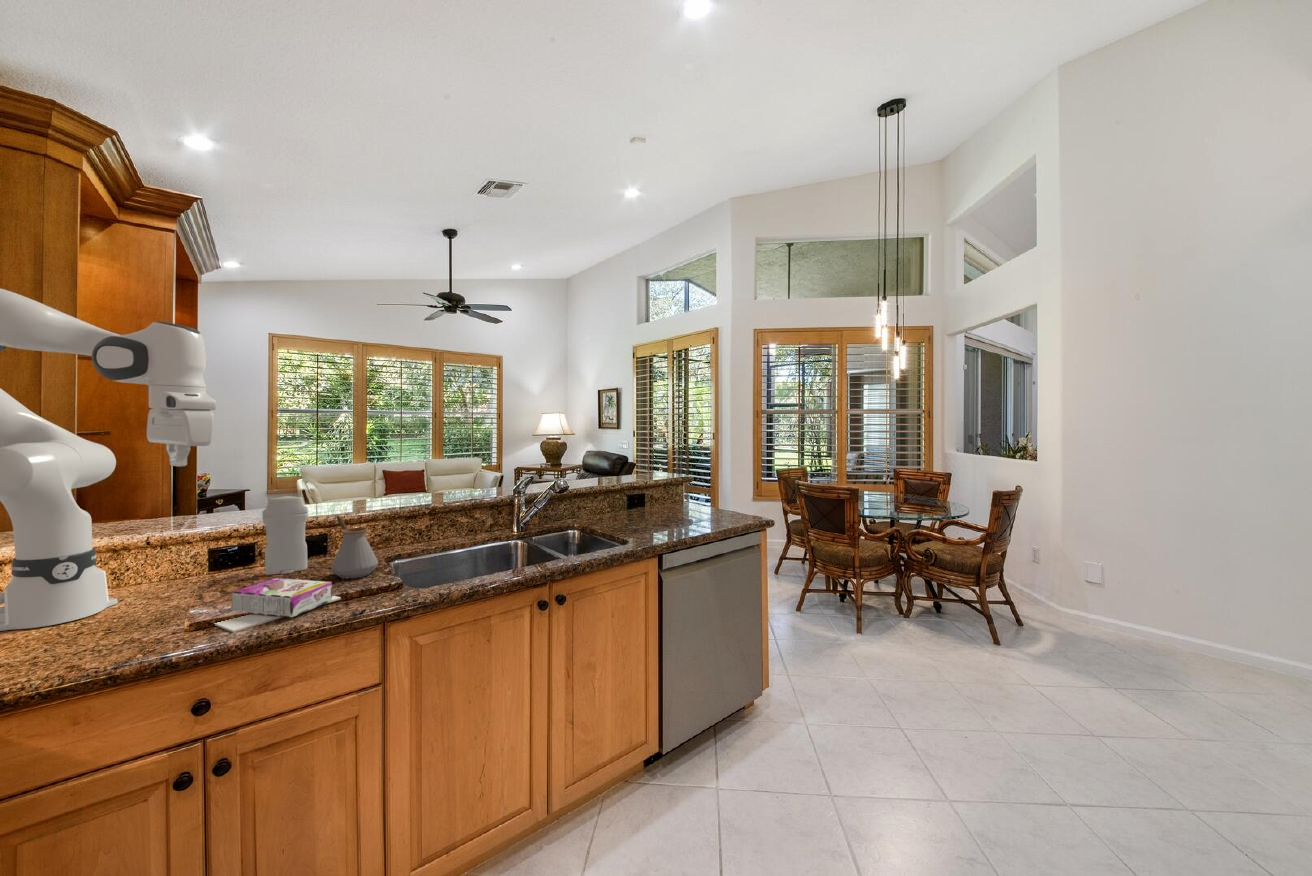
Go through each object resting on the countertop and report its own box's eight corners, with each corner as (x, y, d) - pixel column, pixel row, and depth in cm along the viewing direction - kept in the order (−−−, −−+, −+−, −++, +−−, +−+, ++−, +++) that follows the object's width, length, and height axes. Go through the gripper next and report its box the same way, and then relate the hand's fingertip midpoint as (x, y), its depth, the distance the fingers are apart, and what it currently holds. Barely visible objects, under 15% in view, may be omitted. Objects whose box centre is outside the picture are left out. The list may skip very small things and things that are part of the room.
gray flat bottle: (308, 566, 151) (306, 493, 150) (309, 569, 148) (308, 495, 147) (263, 573, 144) (261, 497, 143) (264, 577, 141) (262, 498, 140)
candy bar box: (275, 576, 124) (333, 580, 121) (275, 596, 125) (333, 601, 122) (229, 590, 114) (291, 596, 110) (230, 612, 114) (291, 619, 111)
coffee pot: (384, 574, 144) (383, 522, 143) (338, 583, 135) (337, 528, 135) (358, 560, 158) (358, 512, 158) (316, 567, 150) (315, 517, 149)
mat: (203, 620, 110) (203, 618, 110) (310, 590, 130) (310, 589, 130) (233, 632, 104) (233, 630, 104) (340, 599, 124) (340, 597, 124)
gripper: (136, 399, 108) (136, 463, 109) (181, 400, 99) (181, 470, 99) (174, 401, 114) (174, 462, 114) (220, 401, 105) (220, 467, 105)
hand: (178, 465), depth 107 cm, fingers closed
